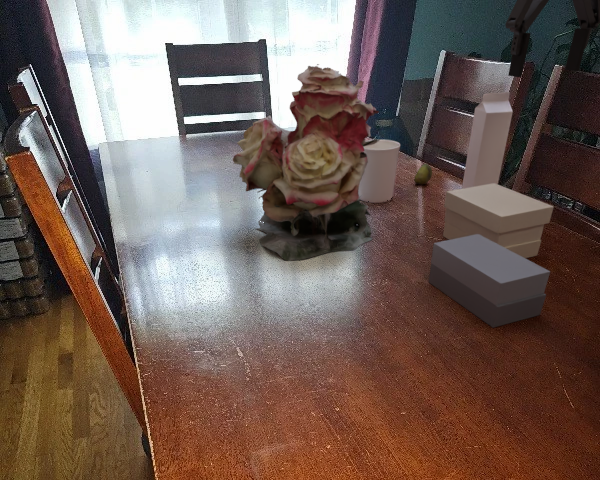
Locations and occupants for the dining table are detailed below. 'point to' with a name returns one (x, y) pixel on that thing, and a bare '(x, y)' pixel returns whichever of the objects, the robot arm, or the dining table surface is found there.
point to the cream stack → (495, 234)
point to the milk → (488, 140)
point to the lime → (423, 174)
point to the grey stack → (488, 279)
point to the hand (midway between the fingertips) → (543, 73)
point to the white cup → (379, 171)
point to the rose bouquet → (311, 168)
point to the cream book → (498, 208)
